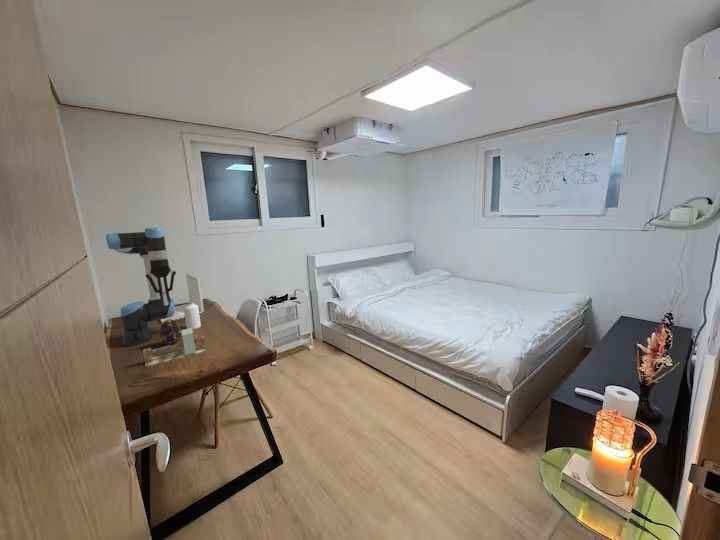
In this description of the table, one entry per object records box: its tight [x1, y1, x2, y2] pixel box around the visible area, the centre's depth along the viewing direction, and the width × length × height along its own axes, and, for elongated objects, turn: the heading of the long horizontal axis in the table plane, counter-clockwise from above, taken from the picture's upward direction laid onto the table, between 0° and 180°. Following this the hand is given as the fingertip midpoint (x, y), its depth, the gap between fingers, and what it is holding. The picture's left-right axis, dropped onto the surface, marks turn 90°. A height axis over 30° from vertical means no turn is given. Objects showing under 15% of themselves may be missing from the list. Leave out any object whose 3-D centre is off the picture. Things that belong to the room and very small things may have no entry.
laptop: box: [159, 273, 205, 324], centre depth 224 cm, size 34×28×28 cm
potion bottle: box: [184, 300, 202, 330], centre depth 191 cm, size 8×8×18 cm
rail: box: [142, 333, 207, 367], centre depth 153 cm, size 27×9×8 cm, turn 123°
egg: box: [159, 319, 182, 346], centre depth 167 cm, size 11×11×15 cm
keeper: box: [181, 328, 196, 355], centre depth 155 cm, size 5×9×11 cm, turn 33°
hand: (166, 304), depth 148 cm, fingers closed
